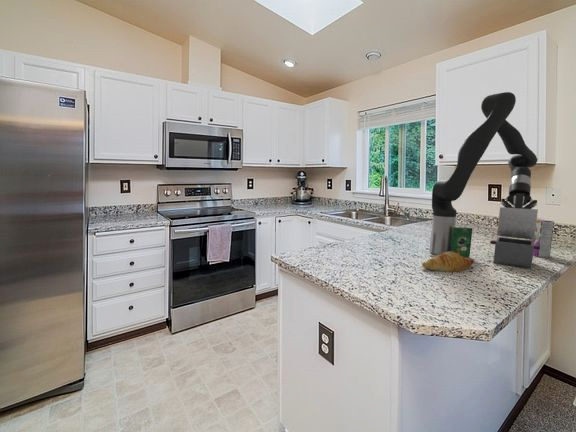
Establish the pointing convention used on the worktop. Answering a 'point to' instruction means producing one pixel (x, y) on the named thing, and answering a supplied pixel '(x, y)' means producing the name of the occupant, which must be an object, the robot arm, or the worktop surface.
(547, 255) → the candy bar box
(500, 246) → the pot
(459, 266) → the croissant
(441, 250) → the robot arm
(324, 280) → the worktop surface
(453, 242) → the coffee box
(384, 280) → the worktop surface
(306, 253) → the worktop surface
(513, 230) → the lid
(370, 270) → the worktop surface
